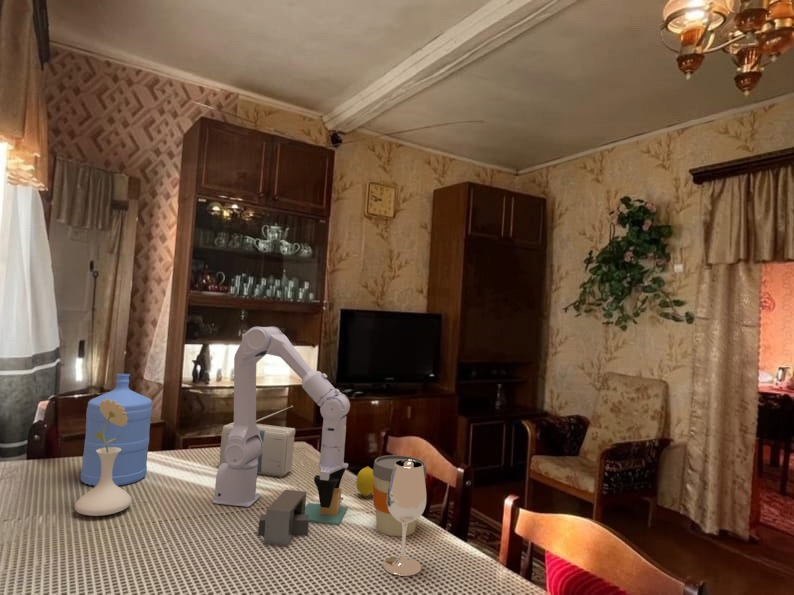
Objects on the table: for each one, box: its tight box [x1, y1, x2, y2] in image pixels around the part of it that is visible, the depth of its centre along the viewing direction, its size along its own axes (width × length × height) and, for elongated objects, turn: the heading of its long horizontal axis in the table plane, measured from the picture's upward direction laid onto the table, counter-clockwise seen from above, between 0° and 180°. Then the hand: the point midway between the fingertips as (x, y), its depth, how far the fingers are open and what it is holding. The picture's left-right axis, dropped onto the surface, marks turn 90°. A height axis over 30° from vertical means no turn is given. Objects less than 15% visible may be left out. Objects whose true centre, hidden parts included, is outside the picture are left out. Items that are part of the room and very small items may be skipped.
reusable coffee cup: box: [372, 454, 427, 537], centre depth 117 cm, size 13×13×15 cm
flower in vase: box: [74, 399, 133, 517], centre depth 116 cm, size 13×11×25 cm
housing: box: [263, 489, 307, 547], centre depth 111 cm, size 5×12×7 cm, turn 174°
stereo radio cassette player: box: [219, 405, 296, 478], centre depth 152 cm, size 21×8×20 cm, turn 77°
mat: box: [305, 502, 348, 526], centre depth 122 cm, size 10×10×1 cm
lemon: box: [355, 466, 374, 498], centre depth 136 cm, size 6×6×8 cm
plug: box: [320, 487, 344, 515], centre depth 123 cm, size 5×4×5 cm
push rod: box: [257, 513, 310, 537], centre depth 111 cm, size 10×3×4 cm, turn 99°
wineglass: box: [382, 460, 427, 577], centre depth 99 cm, size 8×8×20 cm
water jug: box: [80, 373, 153, 487], centre depth 137 cm, size 16×16×28 cm
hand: (328, 501), depth 123 cm, fingers open, 7 cm apart
